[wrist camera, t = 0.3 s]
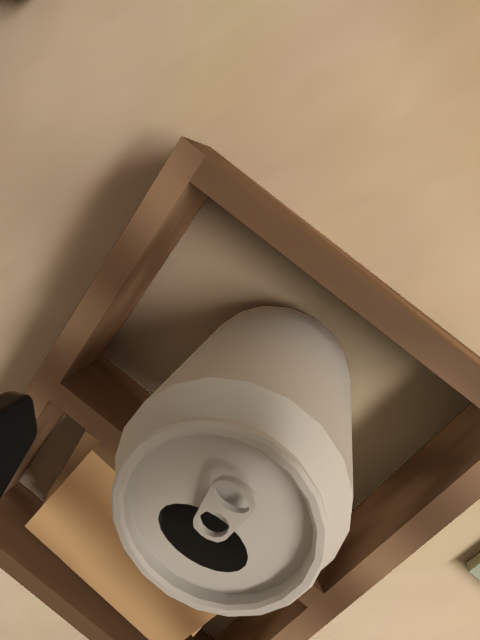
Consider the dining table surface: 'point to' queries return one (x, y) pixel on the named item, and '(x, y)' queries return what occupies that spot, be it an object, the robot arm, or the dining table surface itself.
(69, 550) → the offcut top
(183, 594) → the can
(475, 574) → the mat
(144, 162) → the dining table surface
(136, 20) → the dining table surface
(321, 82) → the dining table surface
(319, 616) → the wooden divided tray
